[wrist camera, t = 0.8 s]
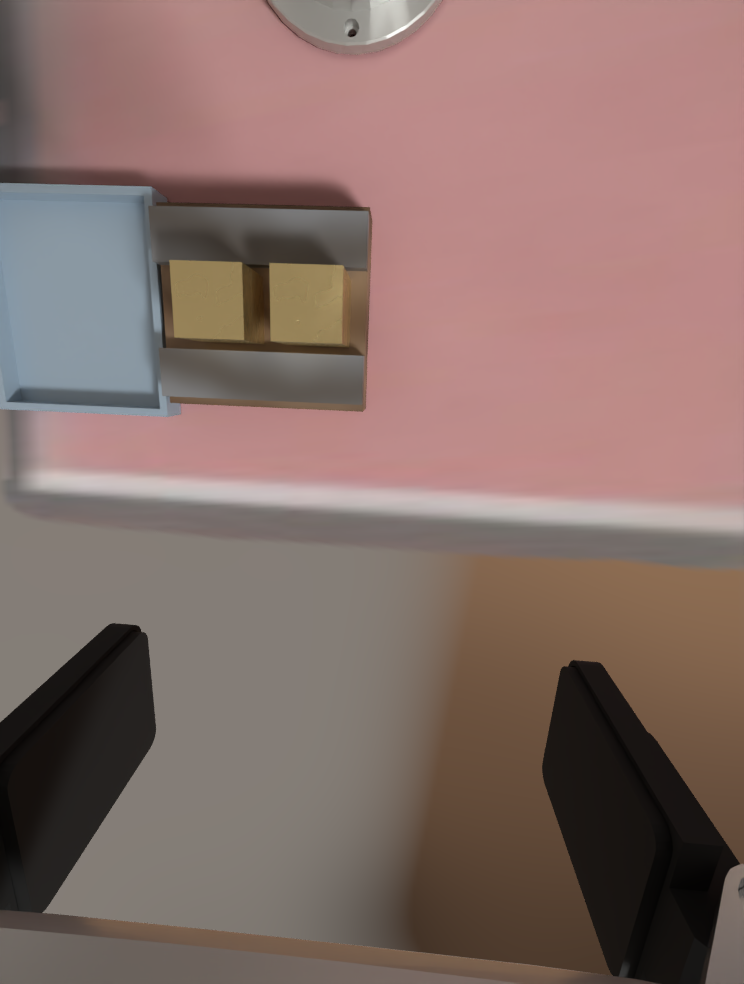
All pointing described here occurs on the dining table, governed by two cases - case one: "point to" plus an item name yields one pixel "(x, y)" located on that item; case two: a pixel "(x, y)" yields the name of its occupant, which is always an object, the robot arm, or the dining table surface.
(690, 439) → the dining table surface
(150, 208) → the slot bed
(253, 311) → the tan wooden cube
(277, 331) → the light brown cube
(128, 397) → the tray
